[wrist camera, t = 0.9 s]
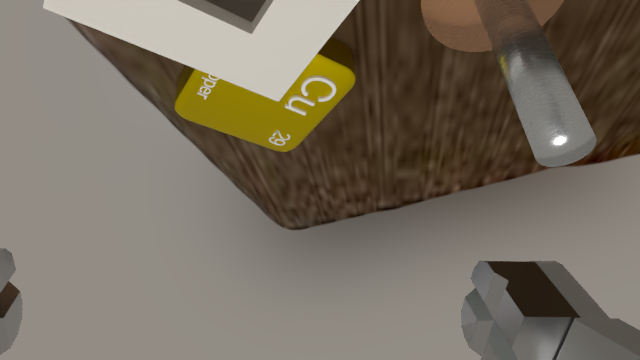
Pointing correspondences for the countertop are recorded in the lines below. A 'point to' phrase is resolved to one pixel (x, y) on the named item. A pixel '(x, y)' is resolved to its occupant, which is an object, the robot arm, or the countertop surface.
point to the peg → (520, 68)
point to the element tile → (269, 101)
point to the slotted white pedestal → (221, 34)
